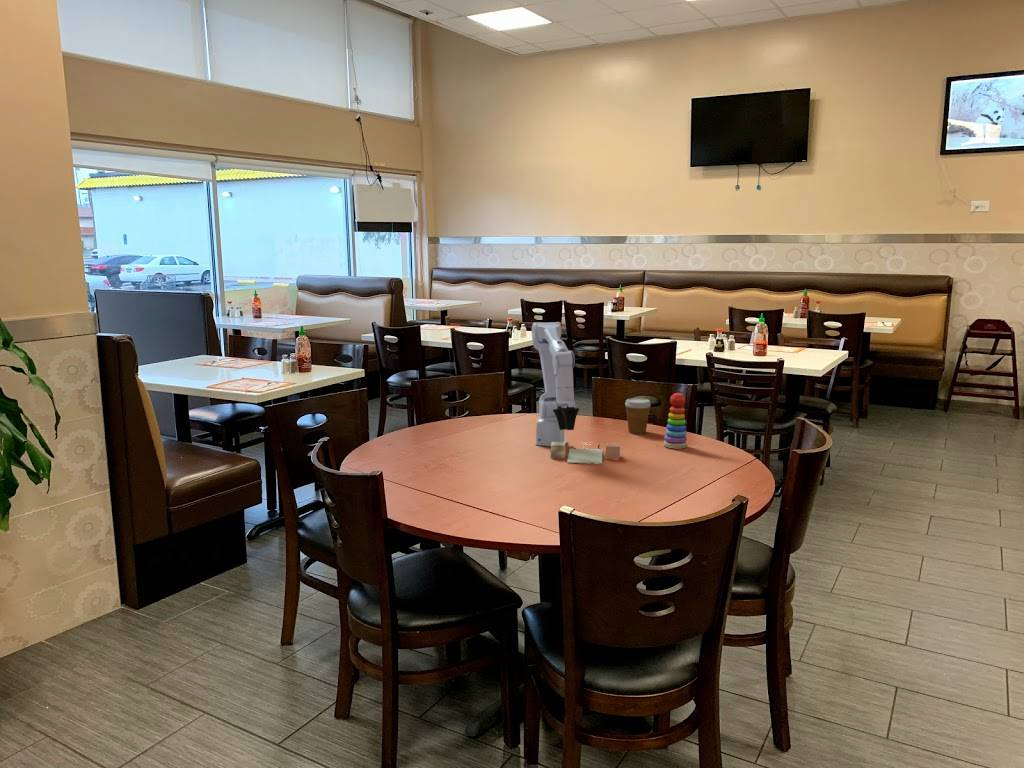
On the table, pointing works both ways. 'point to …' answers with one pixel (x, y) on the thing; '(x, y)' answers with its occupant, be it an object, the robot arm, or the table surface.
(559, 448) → the beech block
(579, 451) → the plate
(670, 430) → the stacking toy
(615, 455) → the pinkish tan cube
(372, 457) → the table surface
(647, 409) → the disposable coffee cup
